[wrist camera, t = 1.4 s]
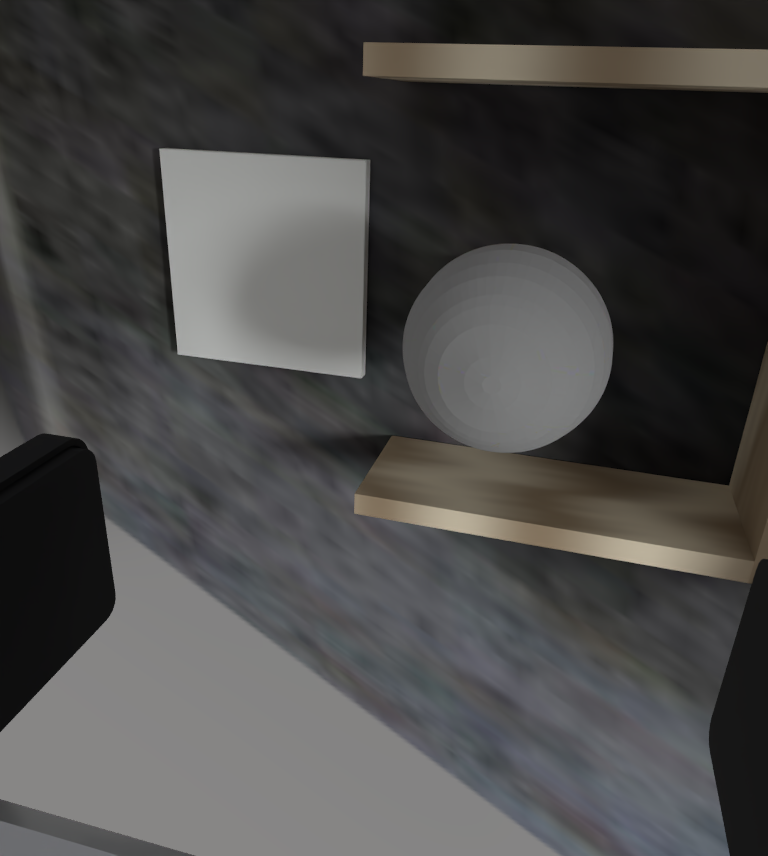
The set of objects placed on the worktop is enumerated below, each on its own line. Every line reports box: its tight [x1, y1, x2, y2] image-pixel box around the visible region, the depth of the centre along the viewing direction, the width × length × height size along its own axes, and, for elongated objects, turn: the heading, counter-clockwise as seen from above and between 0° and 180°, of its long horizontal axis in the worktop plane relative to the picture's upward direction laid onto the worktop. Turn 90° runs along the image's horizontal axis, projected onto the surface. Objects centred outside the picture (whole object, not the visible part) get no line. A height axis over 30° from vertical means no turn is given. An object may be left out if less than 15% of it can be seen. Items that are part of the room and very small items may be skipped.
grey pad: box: [159, 148, 370, 378], centre depth 27 cm, size 8×8×1 cm
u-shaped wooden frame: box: [354, 42, 768, 584], centre depth 23 cm, size 14×15×5 cm
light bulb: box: [403, 244, 613, 453], centre depth 21 cm, size 5×6×10 cm
